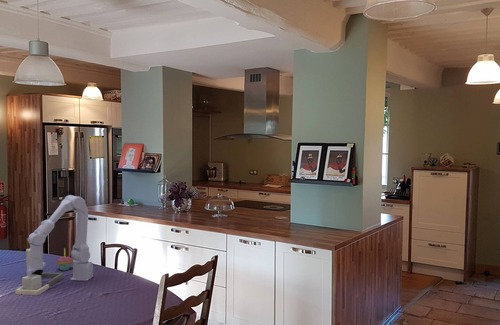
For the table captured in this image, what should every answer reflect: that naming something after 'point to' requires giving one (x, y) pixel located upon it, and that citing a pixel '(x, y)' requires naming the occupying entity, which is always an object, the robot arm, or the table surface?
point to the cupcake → (64, 262)
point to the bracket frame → (31, 291)
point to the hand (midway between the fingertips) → (36, 284)
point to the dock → (55, 277)
